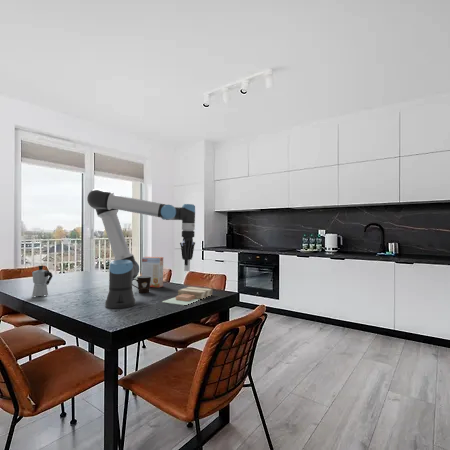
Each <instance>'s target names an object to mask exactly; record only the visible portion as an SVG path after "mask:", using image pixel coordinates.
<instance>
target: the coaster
mask: <svg viewBox="0 0 450 450" xmlns="http://www.w3.org/2000/svg"><path fill="white" fill-rule="evenodd" d="M175 297H176V300H181V301H190V300H192V299H195V295H190V294H181V295H178V294H177V295H176V296H175Z"/></svg>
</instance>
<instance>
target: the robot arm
mask: <svg viewBox="0 0 450 450" xmlns="http://www.w3.org/2000/svg"><path fill="white" fill-rule="evenodd" d="M86 199H87V203H88V205H89V206H90V208H92V209H94V210H95V212H96V215H97V217H98V218H100V219H101V221H102V224H103V227H104V229H105V233H106V235H107V238H108V239H107V240H108V242H109V246H110V249H111V251H112V254H113V256H114V259H113V260H112V261H111V262H110V263H109V268H108V270H109V272H108V273H109V274H108V275H109V278H108V279H109V281H108V293H107V298H106V300H105V301H104V307H105V308H108V309H127V308H130V307H134V306H135V305H136V298H135V295H134V292H133V285H132V284H133V281H134V280H133V279H136V278H137V277H138V275H139V273H140V265H139V264H138V262H137V261H136V258H135V256H134V254H133V253H131V252H130V250H129V247H128V243H127V241H126V238H125V234H124V231H123V228H122V226H121V223H120V220H119V217H118V212H119V211H123V212H128V213H129V212H130V213H134V214H140V215H145V216H150V217H156V218H160V219H161V220H162V221H163V220H165V221H181V230H182V231H181V238H182V242H180V243H179V244H180V249H181V259H182V260H184V267H183V268H184V272H190V270H191V260H193V257H194V251H195V245H196V241H194V238H195V230H196V229H195V226H196V225H195V224H196V205H194V204H193V203H183V204H182V206H180V207H179V206H174V205H172V204H165V203H161V202H154V201H148V200H146V199H145V200H144V199H140V198H139V199H138V198H134V197H129V196H122V195H118V194H115V193H114V192H113V191H108V190H105V189H103V188H94V189H92V190H90V191H89V192H88V194H87V198H86ZM132 280H133V281H132Z"/></svg>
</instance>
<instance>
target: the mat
mask: <svg viewBox="0 0 450 450" xmlns="http://www.w3.org/2000/svg"><path fill="white" fill-rule="evenodd" d="M198 300H199V301H201V300H200V299H192V300H190V301H181V300H176V296H175V297H172V298H169V299H165V300H163V301H161V303H163V304H170V305H178V306H184V305H187V306H189V305H192V304H194V303H196V301H197V302H199V301H198ZM193 302H194V303H193ZM191 303H192V304H191ZM188 304H189V305H188Z"/></svg>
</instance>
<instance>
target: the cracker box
mask: <svg viewBox="0 0 450 450" xmlns="http://www.w3.org/2000/svg"><path fill="white" fill-rule="evenodd" d="M141 276H151V281H150V288H162V287H164V257H162V256H143V257H142V256H141Z"/></svg>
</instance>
